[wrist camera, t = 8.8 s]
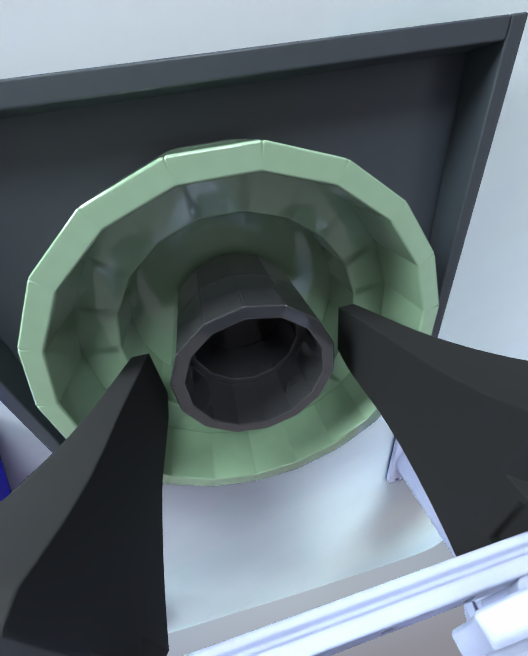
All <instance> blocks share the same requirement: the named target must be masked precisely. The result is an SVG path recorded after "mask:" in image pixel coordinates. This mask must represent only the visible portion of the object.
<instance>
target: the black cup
mask: <svg viewBox="0 0 528 656" xmlns="http://www.w3.org/2000/svg"><path fill="white" fill-rule="evenodd" d="M333 370H334V342H333V340H332V339H331V337H330V336H329V334H328V333H327V331H326V330H325V328H324V327H323V325H322V324H321V322H320V321H319V319H318V318H317V316H316V315H315V314H314V312H313V311H312V310H311V308H310V307H309V306H308V304H307V303H306V301H305V300H304V299H303V297H302V296H301V295H300V293H299V292H298V291H297V289H296V288H295V287H294V285H293V284H292V283H291V281H290V280H289V278H288V277H287V276H286V274H285V273H284V272H283V270H282V269H281V268H280V267H279V266H278V265H276V264H274V263H272V262H270V261H268V260H266V259H264V258H262V257H260V256H258V255H254V254H226V255H222V256H220V257H217V258H215V259H213V260H211V261H209V262H206V263H204V264H202V265H200V266H198V268H196V269H195V270H194V271H193V272H192V274H191V275H190V276H189V277H188V278H187V280H186V281H185V282H184V283H183V285H182V286H181V287H180V289H179V290H178V296H177V301H176V307H175V313H174V328H173V344H172V361H171V378H170V384H171V385H170V386H171V388H172V390H173V393H174V395H175V397H176V399H177V401H178V403H179V406H180V408H181V410H183V412H184V413H186V414H187V415H189V416H190V417H192V418H193V419H195V420H196V421H198V422H200V423H201V424H203V425H204V426H207V427H210V428H215V429H221V430H227V431H232V432H242V431H249V430H257V429H264V428H268V427H271V426H273V425H276V424H278V423H280V422H283V421H285V420H287V419H289V418H292V417H294V416H296V415H297V414H299V413H300V412H301V411H302V410H304V409H305V408H306V407H307V406H308V405H309V404H311V403H312V402H313V401H314V400H315V399H316V398H318V397H319V395H320V394H321V393H322V391H323V389H324V387H325V385H326V384H327V382H328V380H329V378H330V376H331V375H332V373H333Z"/></svg>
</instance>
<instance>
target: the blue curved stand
mask: <svg viewBox="0 0 528 656" xmlns="http://www.w3.org/2000/svg"><path fill="white" fill-rule="evenodd" d="M10 493H11V490H10V487H9V484H8V480H7V477H6V474H5V470H4V467H3V464H2V461H1V457H0V502H1V501H2V500H3V499H5V498H6V497H7V496H8V495H9V494H10Z"/></svg>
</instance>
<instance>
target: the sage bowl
mask: <svg viewBox="0 0 528 656" xmlns="http://www.w3.org/2000/svg"><path fill="white" fill-rule="evenodd" d="M226 254H254V255H258V256H260V257H262V258H264V259H266V260H268V261H270V262H272V263H274V264H276V265H278V266H279V267H280V268H281V269H282V270H283V272H284V273H285V274H286V276H287V277H288V278H289V280H290V281H291V283H292V284H293V285H294V287H295V288H296V289H297V291H298V292H299V293H300V295H301V296H302V297H303V299H304V300H305V301H306V303H307V304H308V306H309V307H310V308H311V310H312V311H313V312H314V314H315V315H316V316H317V318H318V319H319V321H320V322H321V324H322V325H323V327H324V328H325V330H326V331H327V333H328V334H329V336H330V337H331V339H332V340H333V342H334V370H333V373H332V375H331V376H330V378H329V380H328V382H327V384H326V385H325V387H324V389H323V391H322V393H321V394H320V395H319V397H318V398H316V399H315V400H314V401H313V402H312V403H311V404H309V405H308V406H307V407H306V408H305V409H304V410H302V411H301V412H300V413H299V414H297V415H296V416H294V417H292V418H289V419H287V420H285V421H283V422H280V423H278V424H276V425H273V426H271V427H268V428H264V429H257V430H249V431H242V432H232V431H227V430H221V429H215V428H210V427H207V426H204V425H203V424H201V423H200V422H198V421H196V420H195V419H193V418H192V417H190V416H189V415H187V414H186V413H184V412H183V410H181V408H180V406H179V403H178V401H177V399H176V397H175V395H174V393H173V390H172V388H171V386H170V385H171V384H170V378H171V361H172V344H173V328H174V313H175V307H176V301H177V296H178V290H179V289H180V287H181V286H182V285H183V283H184V282H185V281H186V280H187V278H188V277H189V276H190V275H191V274H192V272H193V271H194V270H195V269H196V268H198V266H200V265H202V264H204V263H206V262H209V261H211V260H213V259H215V258H217V257H220V256H222V255H226ZM351 304H355V305H358V306H360V307H363V308H365V309H367V310H370V311H372V312H374V313H377V314H379V315H381V316H383V317H386V318H388V319H390V320H393V321H395V322H397V323H400V324H402V325H404V326H407V327H409V328H412V329H414V330H417V331H420V332H422V333H425V334H428V335H431V334H432V331H433V327H434V323H435V319H436V315H437V312H438V308H439V306H438V305H439V298H438V286H437V275H436V263H435V255H434V251H433V250H432V248H431V246H430V244H429V242H428V240H427V238H426V237H425V235H424V233H423V231H422V229H421V227H420V226H419V224H418V222H417V220H416V218H415V216H414V214H413V213H412V211H411V209H410V207H409V205H408V203H406V201H405V200H404V199H403V198H402V197H400V196H399V195H398V194H396V193H395V192H393V191H392V190H391V189H389V188H388V187H387V186H385V185H384V184H383V183H381V182H380V181H379V180H377V179H376V178H375V177H373V176H372V175H371V174H369V173H368V172H366V171H365V170H364V169H362V168H361V167H360V166H358V165H357V164H356V163H354V162H353V161H352V160H350V159H347V158H345V157H340V156H336V155H331V154H327V153H322V152H318V151H313V150H309V149H305V148H300V147H296V146H291V145H287V144H282V143H278V142H273V141H269V140H259V139H226V140H220V141H214V142H208V143H201V144H195V145H189V146H183V147H177V148H174V149H172V150H168V151H166V152H165V153H163V154H161V155H160V156H158V157H157V158H155V159H153V160H152V161H150V162H148V163H147V164H145V165H143V166H142V167H140V168H138V169H137V170H135V171H133V172H132V173H130V174H128V175H127V176H125V177H123V178H122V179H120V180H119V181H117V182H116V183H114V184H113V185H111V186H109V187H108V188H106V189H105V190H103V191H102V192H100V193H99V194H97V195H96V196H94V197H92V198H91V199H89V200H88V201H86V202H85V203H83V204H82V205H80V207H79V208H77V209H76V210H75V211H74V213H73V214H72V216H71V217H70V218H69V220H68V221H67V223H66V224H65V225H64V227H63V228H62V230H61V231H60V233H59V234H58V235H57V237H56V238H55V240H54V241H53V242H52V244H51V245H50V247H49V248H48V250H47V251H46V252H45V254H44V255H43V257H42V258H41V259H40V261H39V262H38V264H37V265H36V267H35V268H34V269H33V271H32V272H31V274H30V275H29V278H28V280H27V285H26V292H25V298H24V305H23V312H22V318H21V325H20V331H19V338H18V344H17V348H18V354H19V357H20V360H21V363H22V366H23V369H24V372H25V375H26V378H27V381H28V384H29V387H30V390H31V393H32V396H33V399H34V402H35V405H36V406H37V408H38V409H39V410H40V411H41V412H42V413H43V415H44V416H45V417H46V418H47V419H48V420H49V421H50V422H51V423H52V424H53V426H54V427H55V428H56V429H57V430H58V431H59V432H60V433H61V434H62V435H63V437H64V438H65V439H67V438H68V437H69V436H70V434H71V433H72V432H73V431H74V430H75V429H76V428H77V427H78V425H79V424H80V423H81V422H82V421H83V419H84V418H85V417H86V416H87V415H88V413H89V412H90V411H91V410H92V408H93V407H94V406H95V405H96V404H97V402H98V401H99V400H100V399H101V397H102V396H103V395H104V393H105V392H106V391H107V389H108V388H109V387H110V385H111V384H112V383H113V381H114V380H115V379H116V377H117V376H118V375H119V373H120V372H121V371H122V369H123V368H124V367H125V365H126V364H127V363H128V361H129V360H130V359H131V358H132V357H135V356H139V355H143V354H148V353H149V354H150V356H151V358H152V361H153V363H154V365H155V367H156V369H157V371H158V373H159V375H160V377H161V379H162V381H163V384H164V386H165V388H166V390H167V392H168V409H169V420H168V431H167V442H166V452H165V462H164V472H163V484H170V485H190V486H213V487H214V486H221V485H229V484H237V483H244V482H252V481H258V480H261V479H265V478H268V477H271V476H275V475H278V474H281V473H284V472H288V471H291V470H294V469H298V468H299V467H302V466H304V465H306V464H308V463H310V462H312V461H314V460H316V459H318V458H320V457H322V456H324V455H326V454H328V453H330V452H332V451H334V450H336V449H338V448H340V447H341V446H342V445H344V444H345V443H347V442H348V441H349V440H351V439H352V438H353V437H355V436H356V435H358V434H359V433H360V432H362V431H363V430H364V429H366V428H367V427H369V426H370V425H371V424H373V423H374V422H375V421H376V420H377V419H378V418H379V417H380V416H381V414H380V412H379V411H378V409H377V408H376V407H375V405H374V404H373V403H372V401H371V400H370V399H369V397H368V396H367V394H366V393H365V392H364V390H363V389H362V388H361V386H360V385H359V383H358V382H357V381H356V379H355V378H354V377H353V375H352V374H351V372H350V371H349V369H348V368H347V366H346V364H345V362H344V360H343V358H342V357H341V355H340V353H339V351H338V349H337V347H338V308H339V307H343V306H347V305H351Z"/></svg>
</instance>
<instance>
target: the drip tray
mask: <svg viewBox="0 0 528 656" xmlns="http://www.w3.org/2000/svg"><path fill="white" fill-rule="evenodd" d="M527 16H528V13H527V12H523V13H515V14H511V15H509V14H507V15H499V16H492V17H484V18H476V19H468V20H460V21H453V22H445V23H437V24H429V25H421V26H414V27H406V28H398V29H390V30H382V31H375V32H367V33H359V34H351V35H343V36H336V37H328V38H320V39H312V40H304V41H297V42H289V43H281V44H273V45H265V46H257V47H250V48H242V49H234V50H226V51H218V52H211V53H203V54H195V55H187V56H179V57H172V58H164V59H156V60H148V61H140V62H133V63H125V64H117V65H109V66H101V67H94V68H86V69H78V70H70V71H62V72H55V73H47V74H39V75H31V76H23V77H16V78H8V79H0V401H1V402H2V403H3V404H4V405H5V406H6V407H7V408H8V409H9V410H10V411H11V412H12V413H13V414H14V415H15V416H16V417H17V418H18V419H19V420H20V421H21V422H22V423H23V424H24V425H25V426H26V427H27V428H28V429H29V430H30V431H31V432H32V433H33V434H34V435H35V436H36V437H37V438H38V439H39V440H40V441H41V442H42V443H43V444H44V445H45V446H46V447H47V448H48V449H49V450H50V451H51V452H52V453H53V452H54V451H55V450H56V449H57V448H58V447H59V446H60V445H61V444H62V443H63V442H64V441H65V440H66V439H65V438H64V437H63V435H62V434H61V433H60V432H59V431H58V430H57V429H56V428H55V427H54V426H53V424H52V423H51V422H50V421H49V420H48V419H47V418H46V417H45V416H44V415H43V413H42V412H41V411H40V410H39V409H38V408H37V406H36V405H35V402H34V399H33V396H32V393H31V390H30V387H29V384H28V381H27V378H26V375H25V372H24V369H23V366H22V363H21V360H20V357H19V354H18V348H17V344H18V338H19V331H20V325H21V318H22V312H23V305H24V298H25V292H26V285H27V280H28V278H29V275H30V274H31V272H32V271H33V269H34V268H35V267H36V265H37V264H38V262H39V261H40V259H41V258H42V257H43V255H44V254H45V252H46V251H47V250H48V248H49V247H50V245H51V244H52V242H53V241H54V240H55V238H56V237H57V235H58V234H59V233H60V231H61V230H62V228H63V227H64V225H65V224H66V223H67V221H68V220H69V218H70V217H71V216H72V214H73V213H74V211H75V210H76V209H77V208H79V207H80V205H82V204H83V203H85V202H86V201H88V200H89V199H91V198H92V197H94V196H96V195H97V194H99V193H100V192H102V191H103V190H105V189H106V188H108V187H109V186H111V185H113V184H114V183H116V182H117V181H119V180H120V179H122V178H123V177H125V176H127V175H128V174H130V173H132V172H133V171H135V170H137V169H138V168H140V167H142V166H143V165H145V164H147V163H148V162H150V161H152V160H153V159H155V158H157V157H158V156H160V155H161V154H163V153H165V152H166V151H168V150H172V149H174V148H177V147H183V146H189V145H195V144H201V143H208V142H214V141H220V140H226V139H259V140H269V141H273V142H278V143H282V144H287V145H291V146H296V147H300V148H305V149H309V150H313V151H318V152H322V153H327V154H331V155H336V156H340V157H345V158H347V159H350V160H352V161H353V162H354V163H356V164H357V165H358V166H360V167H361V168H362V169H364V170H365V171H366V172H368V173H369V174H371V175H372V176H373V177H375V178H376V179H377V180H379V181H380V182H381V183H383V184H384V185H385V186H387V187H388V188H389V189H391V190H392V191H393V192H395V193H396V194H398V195H399V196H400V197H402V198H403V199H404V200H405V201H406V203H408V205H409V207H410V209H411V211H412V213H413V214H414V216H415V218H416V220H417V222H418V224H419V226H420V227H421V229H422V231H423V233H424V235H425V237H426V238H427V240H428V242H429V244H430V246H431V248H432V250H433V251H434V255H435V263H436V275H437V286H438V298H439V305H438V306H439V308H438V312H437V315H436V319H435V323H434V327H433V331H432V334H431V336H433V337H436V338H437V337H438V334H439V330H440V327H441V323H442V319H443V316H444V312H445V309H446V305H447V302H448V298H449V294H450V291H451V287H452V284H453V280H454V277H455V273H456V269H457V266H458V262H459V259H460V255H461V252H462V248H463V244H464V241H465V237H466V234H467V230H468V227H469V223H470V219H471V216H472V212H473V209H474V205H475V202H476V198H477V194H478V191H479V187H480V184H481V180H482V177H483V173H484V169H485V166H486V162H487V159H488V155H489V152H490V148H491V144H492V141H493V137H494V134H495V130H496V127H497V123H498V119H499V116H500V112H501V109H502V105H503V102H504V98H505V94H506V91H507V87H508V84H509V80H510V77H511V73H512V69H513V66H514V62H515V59H516V55H517V52H518V48H519V44H520V41H521V37H522V34H523V30H524V27H525V23H526V19H527Z"/></svg>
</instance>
